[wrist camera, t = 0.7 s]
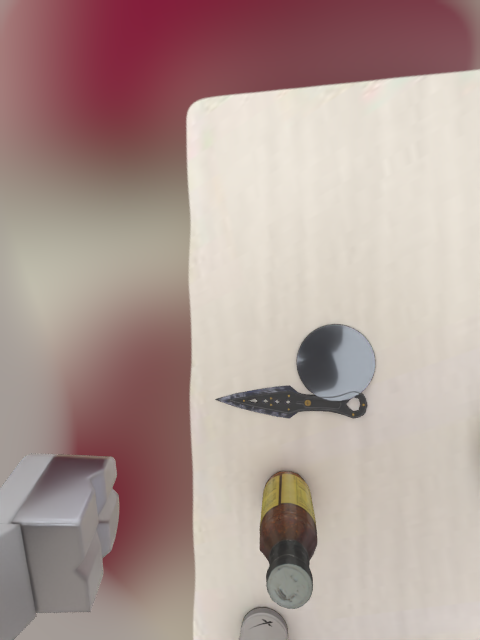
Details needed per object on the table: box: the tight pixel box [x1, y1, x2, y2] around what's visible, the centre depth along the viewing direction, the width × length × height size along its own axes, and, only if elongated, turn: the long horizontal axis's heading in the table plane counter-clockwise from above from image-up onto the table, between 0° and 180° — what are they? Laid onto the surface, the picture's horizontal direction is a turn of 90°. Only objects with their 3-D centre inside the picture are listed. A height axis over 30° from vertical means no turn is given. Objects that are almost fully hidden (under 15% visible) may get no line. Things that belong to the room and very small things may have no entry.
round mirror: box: [297, 324, 375, 401], centre depth 55 cm, size 10×10×1 cm
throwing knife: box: [215, 386, 367, 418], centre depth 56 cm, size 4×20×1 cm, turn 90°
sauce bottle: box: [260, 471, 317, 609], centre depth 46 cm, size 7×6×20 cm
